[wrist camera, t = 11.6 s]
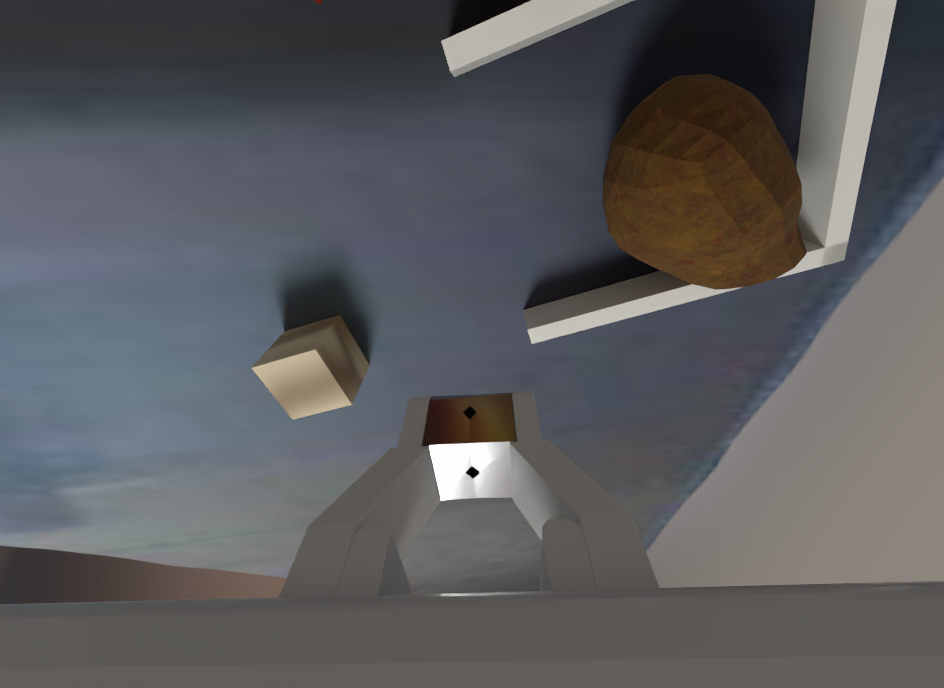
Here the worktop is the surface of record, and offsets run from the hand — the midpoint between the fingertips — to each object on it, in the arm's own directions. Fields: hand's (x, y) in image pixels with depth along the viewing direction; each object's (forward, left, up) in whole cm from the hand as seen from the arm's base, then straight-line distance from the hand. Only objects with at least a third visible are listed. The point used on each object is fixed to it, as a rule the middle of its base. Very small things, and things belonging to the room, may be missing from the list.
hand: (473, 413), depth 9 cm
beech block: (+5, -15, -18) cm, 24 cm away
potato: (+2, +12, -18) cm, 22 cm away
